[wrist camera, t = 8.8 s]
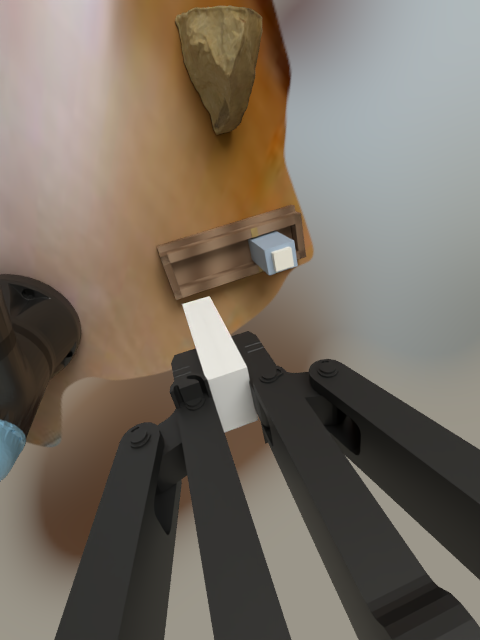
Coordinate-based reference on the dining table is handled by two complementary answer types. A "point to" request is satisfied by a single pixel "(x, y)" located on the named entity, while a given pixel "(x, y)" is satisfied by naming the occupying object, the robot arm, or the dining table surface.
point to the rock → (221, 59)
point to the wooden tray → (225, 251)
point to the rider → (273, 252)
